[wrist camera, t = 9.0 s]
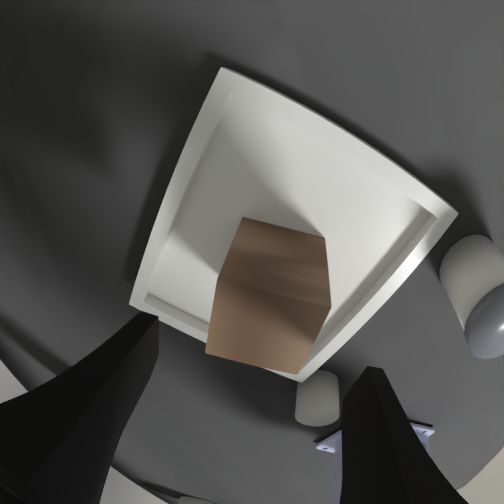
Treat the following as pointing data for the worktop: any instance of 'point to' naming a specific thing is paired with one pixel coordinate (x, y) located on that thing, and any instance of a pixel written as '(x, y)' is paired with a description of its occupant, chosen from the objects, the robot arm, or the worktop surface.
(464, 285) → the sample jar
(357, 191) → the tray
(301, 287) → the walnut block
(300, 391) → the rubber stopper
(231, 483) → the worktop surface
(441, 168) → the worktop surface
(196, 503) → the mug
